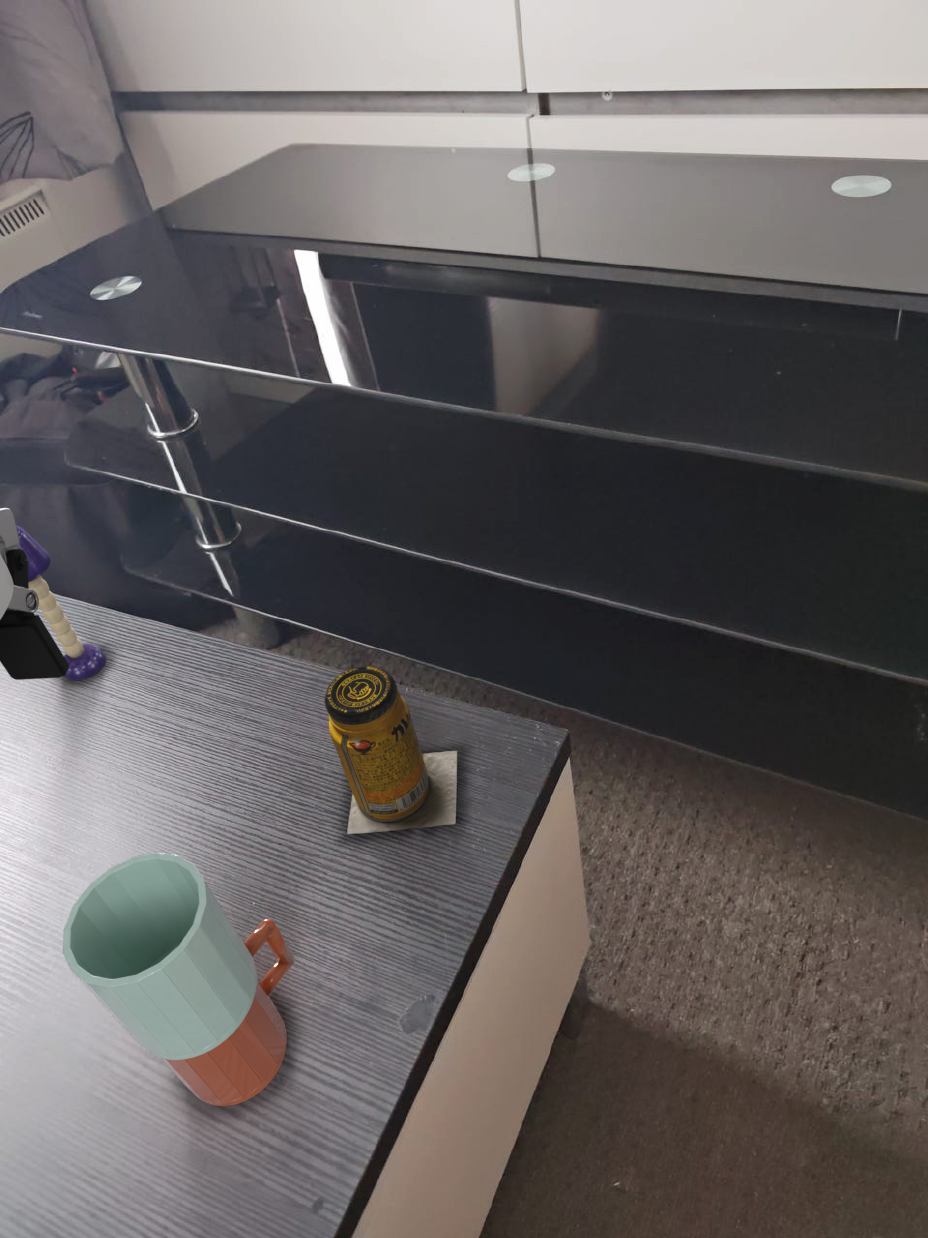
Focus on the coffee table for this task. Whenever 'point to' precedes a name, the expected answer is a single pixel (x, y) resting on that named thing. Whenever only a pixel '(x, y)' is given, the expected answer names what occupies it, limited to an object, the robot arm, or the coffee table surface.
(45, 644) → the robot arm
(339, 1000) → the coffee table surface
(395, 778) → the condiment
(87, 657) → the toy lamp
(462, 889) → the coffee table surface
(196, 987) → the cup
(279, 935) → the mug
